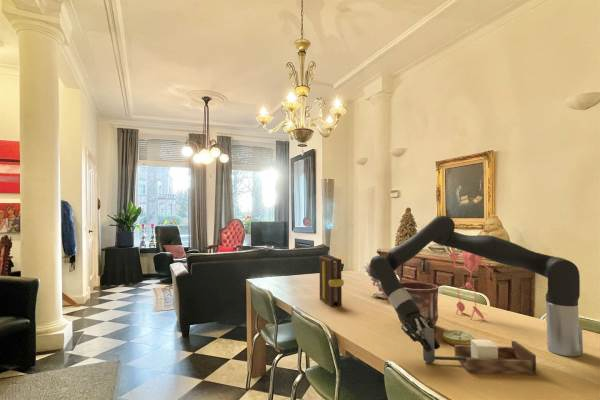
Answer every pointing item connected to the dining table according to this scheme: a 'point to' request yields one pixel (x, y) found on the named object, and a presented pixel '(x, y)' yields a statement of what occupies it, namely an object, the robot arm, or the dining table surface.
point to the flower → (376, 281)
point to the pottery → (424, 298)
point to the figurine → (470, 261)
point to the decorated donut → (457, 337)
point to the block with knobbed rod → (477, 351)
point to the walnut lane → (499, 360)
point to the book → (330, 280)
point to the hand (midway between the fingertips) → (433, 349)
